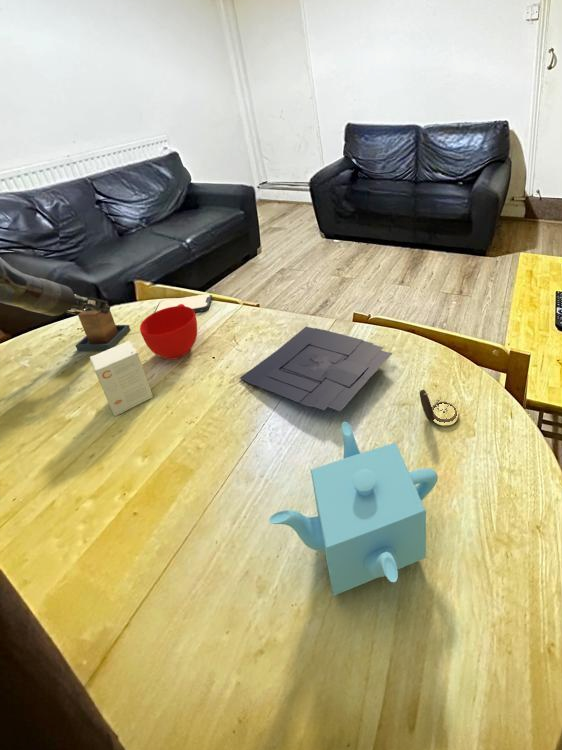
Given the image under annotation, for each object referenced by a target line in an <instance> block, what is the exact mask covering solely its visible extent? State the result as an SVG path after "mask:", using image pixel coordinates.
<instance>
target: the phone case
mask: <svg viewBox="0 0 562 750" xmlns="http://www.w3.org/2000/svg"><path fill="white" fill-rule="evenodd" d="M209 294H210V293H202V294H198V295H191V296H190V295H189V296H183V297H177V298H171V299H164V300H161V301H160V302H158V304H157V306H156V308H155V310H154V311H153V313H155V312H157V311H160V310H162V309H165V308H169V307H175V306H178V305H179V304H183V305H184V306H186V307H190V308H192V309H193V310H194V312H195V313H198V312H204V311H207V310H209V309H210V307H211V304H212V301H213V294H212V295H209Z"/></svg>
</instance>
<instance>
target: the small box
mask: <svg viewBox="0 0 562 750" xmlns="http://www.w3.org/2000/svg"><path fill="white" fill-rule="evenodd" d="M89 360H90V363H91V365H92V368H93V369H94V370H93V371H94V373H95V375H96V376H97V380H98V381H99V384H100V387H101V389H102V391H103V395H104V397H105V398H106V400H107V403H108V405H109V408H110V410H111V412H112V414H113V416H114V417H117V416H119V415H122V414H123V413H124V412H126V411H127V412H128V410H131V409H132V408H135V407H136V406H139V405H141V404H143V403H144V402H147V401H148V400H150V399H152V398H153V397H154V395H153V392H152V390H151V387H150V384H149V381H148V378H147V375H146V372H145V370H144V367H143V364H142V361H141V358H140V356H139V353H138V352H137V350H136V348H135V347H134V345H133V344H132V342H131V341H130V340H128V341H125V342H123V343H121V344H117V345H116V346H115V347H113V348H111V349H108V350H106V351H100V352H99V353H96V354H93V355H92V356H91V355H90V356H89Z"/></svg>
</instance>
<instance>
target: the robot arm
mask: <svg viewBox="0 0 562 750" xmlns="http://www.w3.org/2000/svg"><path fill="white" fill-rule="evenodd" d="M0 303H1V304H4V305H8V306H12V307H17V308H21V309H23V310H26V311H28V312H29V311H30V312H34V313H37V314H42V315H46V316H50V317H55V316H56V317H57V316H61V315H63V314H64V313H68V314H71V315H78V314H79V313H80V312H89V311H96V312H100V313H104V314H108V313H109V311H111V305H109V304H108V301H106V300H103V299H101V298H100V299H99V298H97V297H93V296H87V297H84V296H81V295H78V294H75V293H74V291H73V289H72V288H71V287H70V286H67V285H65V284H61V283H59V282H55V281H53V280H49V279H47V278H41V277H36V276H33V275H30V274H27V273H23V272H22V271H20V270H18V269H17V268H16V267H15V266H13V265H12V264H10V263H8V261H7V260H5V259H4V258H2V257H1V256H0ZM107 304H108V305H107ZM84 305H85V306H84ZM84 307H85V308H86V309H85V308H84Z"/></svg>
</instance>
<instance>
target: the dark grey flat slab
mask: <svg viewBox="0 0 562 750" xmlns="http://www.w3.org/2000/svg"><path fill="white" fill-rule="evenodd" d="M383 349H384V347H383V346H381V345H376V344H374V343H373V342H371V341H366V340H364V339H361V338H358V337H355V336H354V337H353V336H350V335H346V334H342V333H337V332H334V331H331V330H326V329H321V328H318V327H317V328H316V327H311V326H305V327H304V328H302V329H301V330H300V331H299V332H298V333H296V334H295V335H294V336H293V337H291V338H289V340H288V341H286V343H284V344H283V345H282V346H280V347H279V348H278V349H277V350H276V351H274V352H272V353H271V354H270V355H268V356H266V358H264V359H263V360H261V362H259V363H258V364H257V365H255V366H253V367H252V368H251V369H249V370H248V371H246V373H244V374H243V375H241V376H240V377H239V379H240V380H243V381H244V382H246V383H248V384H250V385H253V386H256V387H258V388H260V389H261V388H262V389H264V390H266V391H269V392H272V393H274V394H276V395H279V396H281V397H284V398H287V399H289V400H292V401H293V402H296V403H299V404H300V405H303V406H306V407H309V408H311V407H314V408H317V409H320V410H322V411H325V410H327V408H330V409H333V410H336V411H339V412H342V410H343V409H344V408H345V407H346V406H347V405H348V403H350V401H351V400H352V399H353V398H354V397H355V395H357V393H358V392H359V391H360V390H361V389H362V387H363V386H364V385H365V384H367V382H368V381H369V379H371V377H372V376H373V375H374V374H375V373H376V372H377V371H378V370H380V367H381V366H383V365H384V364H385V363H386V361H387V360H388V359H389V358H390V357H391V356H392V355H393V353H392V352H389V351H384V350H383Z"/></svg>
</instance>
